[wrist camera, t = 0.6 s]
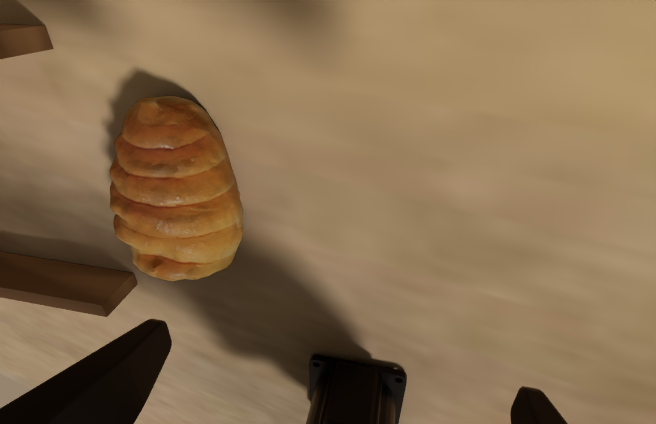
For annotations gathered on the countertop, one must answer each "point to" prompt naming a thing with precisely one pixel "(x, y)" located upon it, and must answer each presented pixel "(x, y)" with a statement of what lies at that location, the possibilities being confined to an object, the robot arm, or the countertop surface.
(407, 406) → the countertop surface
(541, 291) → the countertop surface
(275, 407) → the countertop surface
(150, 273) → the pastry
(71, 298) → the box
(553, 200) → the countertop surface
